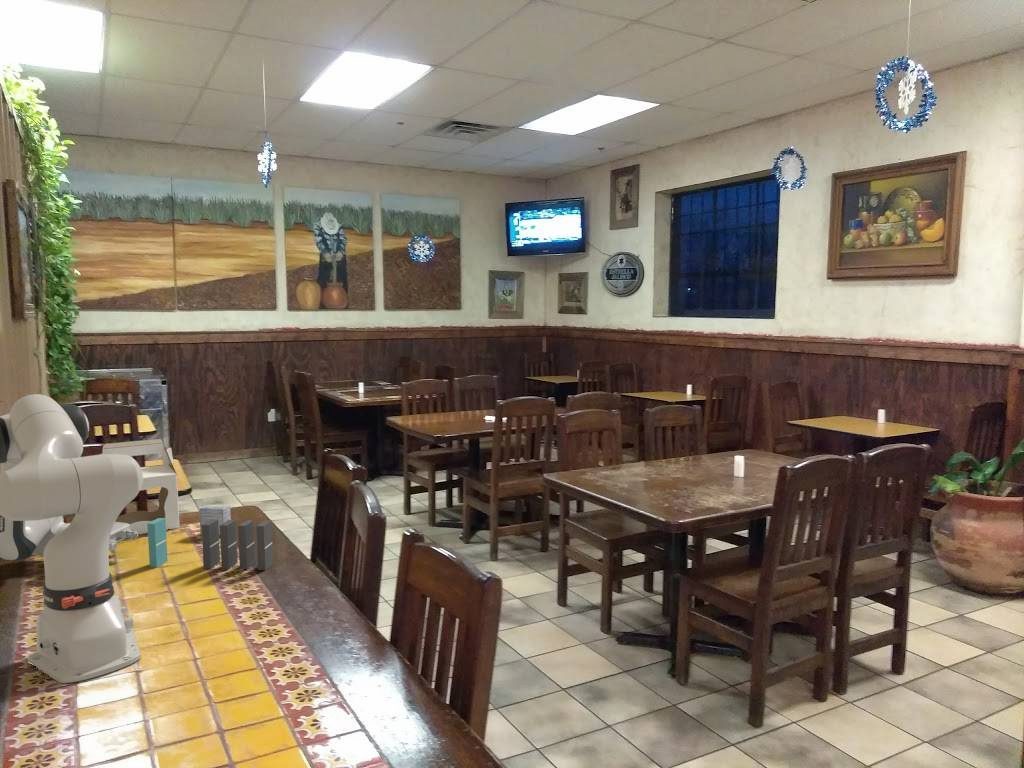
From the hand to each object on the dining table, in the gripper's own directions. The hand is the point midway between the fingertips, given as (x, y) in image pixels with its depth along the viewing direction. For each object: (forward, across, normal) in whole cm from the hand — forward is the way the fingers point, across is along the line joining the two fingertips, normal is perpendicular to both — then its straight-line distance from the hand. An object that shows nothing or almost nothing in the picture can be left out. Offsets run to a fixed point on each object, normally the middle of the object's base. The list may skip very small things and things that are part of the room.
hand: (125, 540), depth 193 cm
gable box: (-16, +30, +6) cm, 34 cm away
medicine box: (+11, +26, +6) cm, 30 cm away
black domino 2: (+29, 0, +6) cm, 30 cm away
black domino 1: (+24, 0, +6) cm, 25 cm away
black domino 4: (+39, 0, +6) cm, 39 cm away
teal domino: (+9, 0, +6) cm, 11 cm away
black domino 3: (+34, 0, +6) cm, 34 cm away
